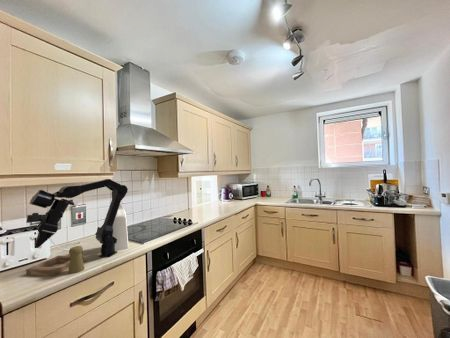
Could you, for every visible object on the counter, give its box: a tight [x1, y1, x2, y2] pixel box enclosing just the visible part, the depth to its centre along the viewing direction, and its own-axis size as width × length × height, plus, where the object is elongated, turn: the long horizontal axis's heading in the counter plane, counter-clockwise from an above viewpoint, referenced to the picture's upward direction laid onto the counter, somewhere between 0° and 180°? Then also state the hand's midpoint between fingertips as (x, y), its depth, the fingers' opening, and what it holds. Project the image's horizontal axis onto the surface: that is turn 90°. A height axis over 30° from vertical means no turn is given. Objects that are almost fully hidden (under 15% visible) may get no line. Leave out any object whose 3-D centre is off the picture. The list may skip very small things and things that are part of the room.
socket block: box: [25, 255, 84, 277], centre depth 97 cm, size 15×15×2 cm
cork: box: [67, 245, 85, 275], centre depth 93 cm, size 6×6×11 cm
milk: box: [113, 203, 129, 251], centre depth 122 cm, size 12×12×26 cm
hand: (36, 246), depth 86 cm, fingers open, 9 cm apart
